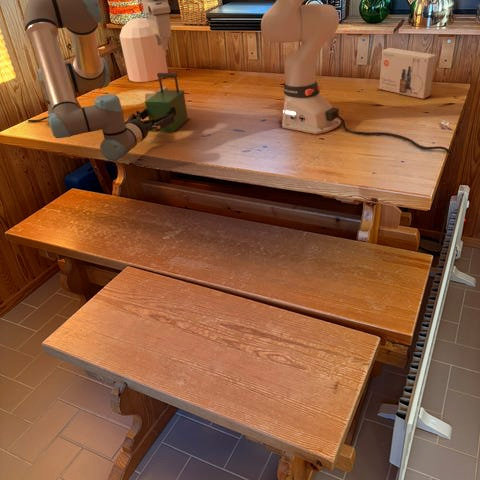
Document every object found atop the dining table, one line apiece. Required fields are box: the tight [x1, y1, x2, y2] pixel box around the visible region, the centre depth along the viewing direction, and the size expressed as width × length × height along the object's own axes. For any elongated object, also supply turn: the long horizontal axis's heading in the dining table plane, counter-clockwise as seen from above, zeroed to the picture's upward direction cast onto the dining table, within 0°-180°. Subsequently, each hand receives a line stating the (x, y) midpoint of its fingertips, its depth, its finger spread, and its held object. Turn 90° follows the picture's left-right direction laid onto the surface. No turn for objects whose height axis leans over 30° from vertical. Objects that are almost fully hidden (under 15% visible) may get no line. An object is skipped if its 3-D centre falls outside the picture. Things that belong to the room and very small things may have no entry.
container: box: [119, 17, 169, 83], centre depth 235 cm, size 21×21×28 cm
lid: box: [144, 72, 185, 105], centre depth 173 cm, size 14×10×8 cm
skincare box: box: [378, 47, 437, 100], centre depth 184 cm, size 21×6×16 cm, turn 40°
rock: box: [144, 85, 169, 101], centre depth 206 cm, size 11×6×10 cm
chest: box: [145, 93, 189, 133], centre depth 178 cm, size 13×10×10 cm
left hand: (162, 110), depth 174 cm, fingers closed on chest, 10 cm apart
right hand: (162, 47), depth 169 cm, fingers open, 8 cm apart
